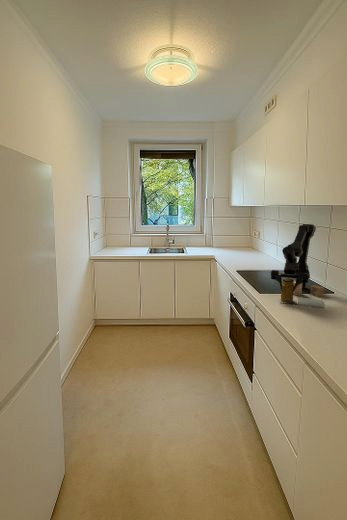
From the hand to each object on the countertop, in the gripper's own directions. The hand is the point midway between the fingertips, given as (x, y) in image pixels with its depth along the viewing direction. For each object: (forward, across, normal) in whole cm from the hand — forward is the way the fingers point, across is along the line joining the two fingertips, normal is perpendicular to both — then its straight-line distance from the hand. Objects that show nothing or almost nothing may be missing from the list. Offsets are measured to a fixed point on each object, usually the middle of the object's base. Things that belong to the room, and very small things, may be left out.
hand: (287, 289), depth 161 cm
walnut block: (-10, +15, +20) cm, 27 cm away
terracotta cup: (-9, +4, +18) cm, 20 cm away
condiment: (+4, +1, +6) cm, 7 cm away
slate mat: (+2, +12, +7) cm, 14 cm away
